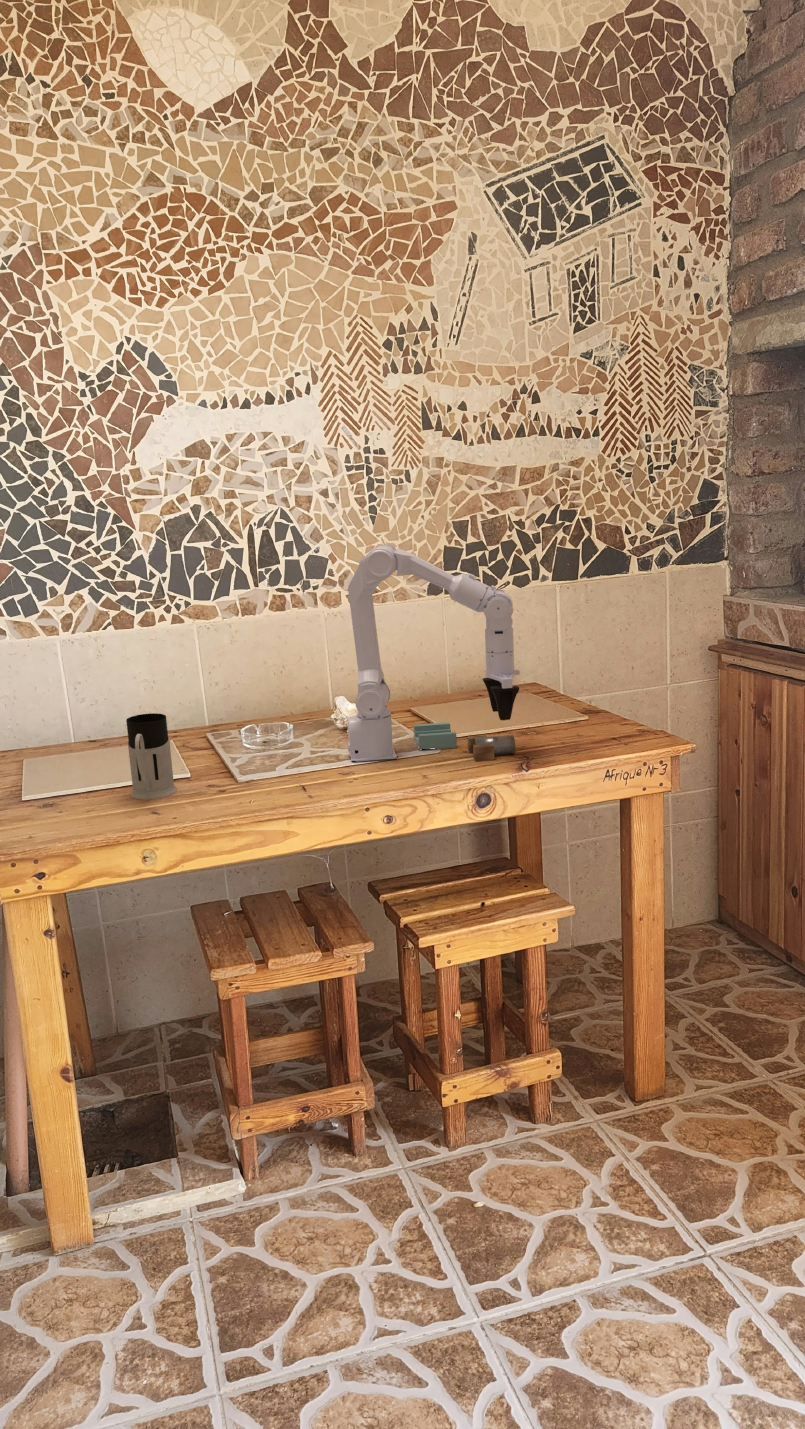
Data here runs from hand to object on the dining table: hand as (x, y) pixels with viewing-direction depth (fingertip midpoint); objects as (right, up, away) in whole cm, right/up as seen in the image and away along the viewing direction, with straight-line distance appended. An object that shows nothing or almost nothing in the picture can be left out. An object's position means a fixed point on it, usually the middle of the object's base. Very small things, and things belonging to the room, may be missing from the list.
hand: (501, 715), depth 224 cm
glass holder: (-69, -16, -16) cm, 72 cm away
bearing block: (-4, -8, +2) cm, 9 cm away
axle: (-1, -8, +2) cm, 9 cm away
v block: (-13, -6, +12) cm, 19 cm away
